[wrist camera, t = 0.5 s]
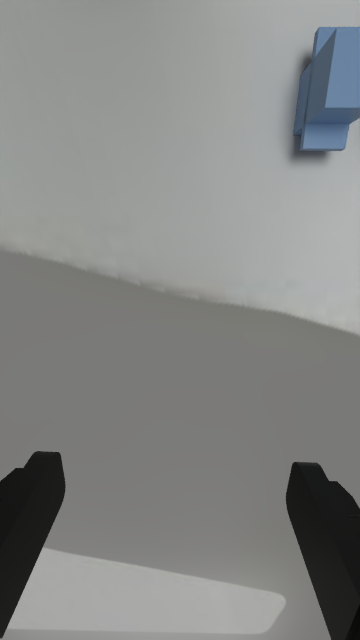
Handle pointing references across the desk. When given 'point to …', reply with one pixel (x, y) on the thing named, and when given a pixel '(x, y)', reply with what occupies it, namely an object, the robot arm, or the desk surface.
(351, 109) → the block
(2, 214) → the desk surface
